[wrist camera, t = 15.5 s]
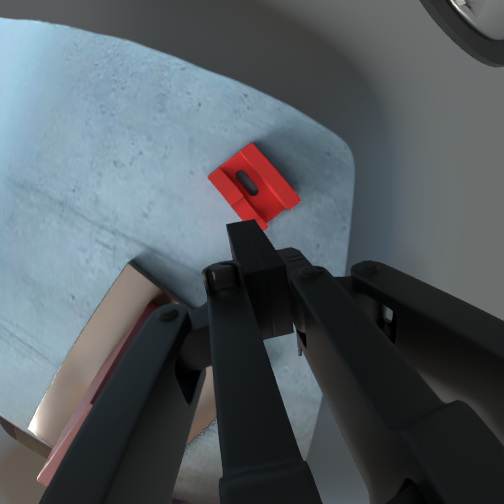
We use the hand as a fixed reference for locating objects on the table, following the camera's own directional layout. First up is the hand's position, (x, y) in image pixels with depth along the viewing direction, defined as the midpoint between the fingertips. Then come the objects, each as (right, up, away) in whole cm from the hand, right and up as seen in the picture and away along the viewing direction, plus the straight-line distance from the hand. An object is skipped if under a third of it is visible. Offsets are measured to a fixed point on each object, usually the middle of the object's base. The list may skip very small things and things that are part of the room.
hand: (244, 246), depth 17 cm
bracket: (0, +5, +12) cm, 13 cm away
